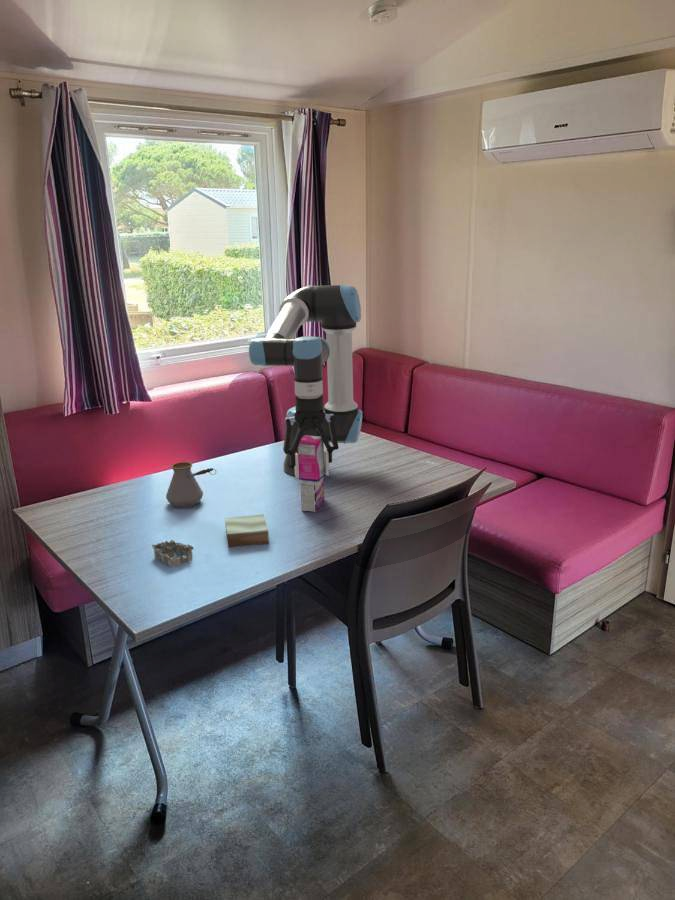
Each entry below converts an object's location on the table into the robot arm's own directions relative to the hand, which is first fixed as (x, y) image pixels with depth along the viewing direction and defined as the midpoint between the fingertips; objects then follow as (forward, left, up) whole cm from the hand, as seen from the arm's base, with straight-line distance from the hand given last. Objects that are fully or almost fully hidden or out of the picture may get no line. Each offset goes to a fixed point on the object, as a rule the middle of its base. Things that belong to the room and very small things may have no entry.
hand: (311, 474), depth 186 cm
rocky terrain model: (+8, -39, -17) cm, 44 cm away
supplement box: (0, 0, -1) cm, 1 cm away
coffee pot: (-26, -33, -17) cm, 45 cm away
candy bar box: (-18, +3, -17) cm, 25 cm away
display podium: (0, -19, -17) cm, 25 cm away
